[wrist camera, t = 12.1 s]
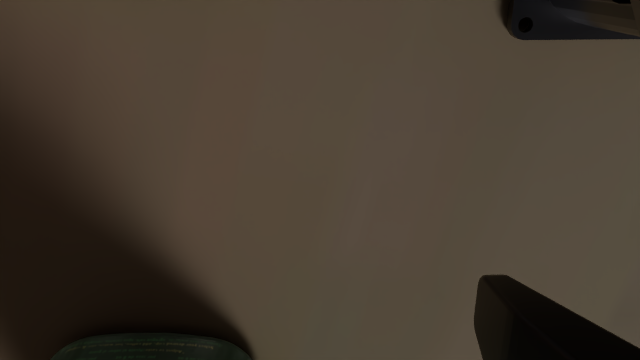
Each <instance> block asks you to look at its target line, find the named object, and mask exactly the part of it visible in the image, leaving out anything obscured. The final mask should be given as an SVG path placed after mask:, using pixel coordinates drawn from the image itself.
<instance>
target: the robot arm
mask: <svg viewBox="0 0 640 360" xmlns="http://www.w3.org/2000/svg"><path fill="white" fill-rule="evenodd" d="M525 17H526V18H527V19H528V23H529V24H528V27H527V28H526V29H525V30H524V31H520V30H519V28H518V24H519V21H520V20H521V19H522V18H525ZM507 30H508V32H509V33H510V35H512V36H513V37H514V38H517V39H522V40H573V39H640V0H510V3H509V12H508V20H507ZM474 328H475V333H476V336H477V340H478V344H479V347H480V351H481V354H482V358H483V360H640V348H638V347H636V346H634V345H633V344H631V343H629V342H627V341H625V340H624V339H622V338H620V337H618V336H616V335H614V334H613V333H611V332H609V331H607V330H605V329H604V328H602V327H600V326H598V325H596V324H594V323H593V322H591V321H589V320H587V319H585V318H584V317H582V316H580V315H578V314H576V313H574V312H573V311H571V310H569V309H567V308H565V307H564V306H562V305H560V304H558V303H556V302H555V301H553V300H551V299H549V298H547V297H545V296H544V295H542V294H540V293H538V292H536V291H535V290H533V289H531V288H529V287H527V286H525V285H524V284H522V283H520V282H518V281H516V280H515V279H513V278H511V277H509V276H507V275H483V276H482V277H481V278H480V280H479V282H478V288H477V297H476V305H475V313H474Z"/></svg>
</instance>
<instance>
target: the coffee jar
mask: <svg viewBox="0 0 640 360" xmlns="http://www.w3.org/2000/svg"><path fill="white" fill-rule="evenodd" d="M51 360H252V359H251V358H250V357H249V355H248V354H247V353H245V352H244V351H243V350H242V349H240V348H239V347H237V346H236V345H234V344H232V343H230V342H227V341H224V340H221V339H217V338H212V337H205V336H197V335H190V334H176V333H120V334H106V335H97V336H90V337H86V338H83V339H79V340H77V341H74V342H72V343H70V344H68V345H67V346H65V347H63V348H62V349H61V350H59V351H58V352H57V353H56V354H55V355H54V356H53V357H52V358H51Z"/></svg>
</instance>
